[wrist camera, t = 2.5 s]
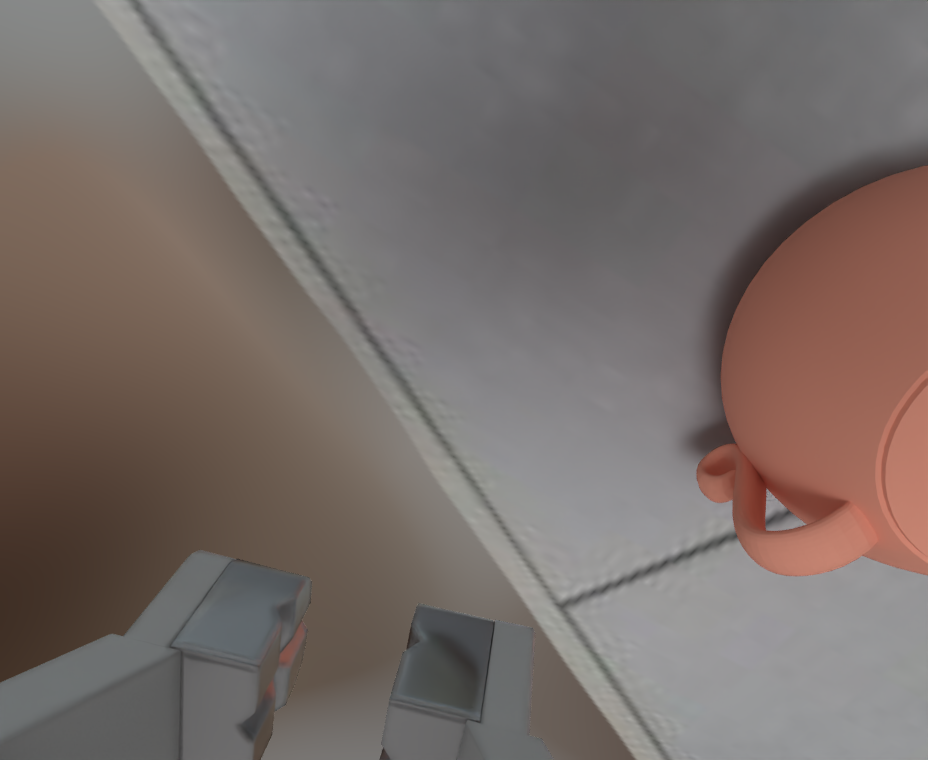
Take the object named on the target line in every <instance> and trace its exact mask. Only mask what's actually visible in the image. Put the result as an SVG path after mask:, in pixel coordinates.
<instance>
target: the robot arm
mask: <svg viewBox="0 0 928 760" xmlns="http://www.w3.org/2000/svg"><path fill="white" fill-rule="evenodd" d="M311 589H312V581H311V580H310V578H309V577H306V576H302V575H298V574H294V573H290V572H286V571H282V570H278V569H275V568H271V567H267V566H263V565H260V564H256V563H252V562H248V561H244V560H240V559H233V558H230V557H226V556H222V555H218V554H214V553H211V552H206V551H203V550H199V551H197V552H195V553H193V554H191V555H190V556H189V557H188V558H187V559H186V560H185V561H184V563H183V564H182V565H181V566H180V567H179V569H178V570H177V571H176V572H175V574H174V575H173V576H172V577H171V578H170V580H169V581H168V582H167V583H166V585H165V586H164V587H163V588H162V589H161V591H160V592H159V593H158V594H157V596H156V597H155V598H154V599H153V600H152V602H151V603H150V604H149V605H148V606H147V608H146V609H145V610H144V611H143V613H142V614H141V615H140V616H139V618H138V619H137V620H136V621H135V622H134V624H133V625H132V626H131V627H130V628H129V630H128V631H127V632H126V634H125V635H124V636H119V635H115V634H110V635H107V636H105V637H103V638H101V639H98V640H96V641H94V642H91V643H89V644H87V645H85V646H82V647H80V648H78V649H76V650H73V651H71V652H69V653H67V654H64V655H62V656H60V657H57V658H55V659H53V660H51V661H48V662H46V663H44V664H42V665H39V666H37V667H35V668H32V669H31V670H28V671H26V672H23V673H21V674H19V675H17V676H14V677H12V678H10V679H8V680H5V681H3V682H1V683H0V760H261V757H262V755H263V753H264V751H265V749H266V747H267V745H268V742H269V740H270V738H271V736H272V730H273V721H274V712H275V711H277V710H278V709H280V708H281V707H283V706H285V705H286V703H287V701H288V699H289V697H290V694H291V692H292V690H293V688H294V685H295V682H296V679H297V676H298V673H299V670H300V667H301V664H302V660H303V655H304V650H305V646H306V639H307V631H308V630H307V628H306V626H305V625H304V623H303V621H302V619H303V617H304V615H305V613H306V611H307V609H308V607H309V604H310V603H311ZM534 649H535V632H534V629H533V628H531V627H527V626H522V625H517V624H513V623H508V622H503V621H499V620H495V621H493V620H490V619H486V618H482V617H477V616H473V615H469V614H464V613H460V612H456V611H451V610H446V609H442V608H438V607H434V606H429V605H425V604H420V603H419V604H418V605H417V607H416V611H415V614H414V617H413V620H412V623H411V628H410V634H409V639H408V644H407V649H406V651H404V652H403V654H402V658H401V661H400V665H399V668H398V671H397V675H396V678H395V682H394V685H393V689H392V692H391V696H390V699H389V706H388V710H387V715H386V721H385V726H384V732H383V737H382V742H381V744H382V746H383V750H382V754H381V757H380V760H554V759H553V757H552V755H551V753H550V752H549V750H548V748H547V747H546V745H545V743H544V742H543V740H542V739H541V738H537V737H533V736H529V733H530V715H531V699H532V682H533V666H534Z"/></svg>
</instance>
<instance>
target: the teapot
mask: <svg viewBox="0 0 928 760" xmlns="http://www.w3.org/2000/svg"><path fill="white" fill-rule="evenodd" d="M721 390H722V400H723V405H724V410H725V414H726V419H727V422H728V424H729V427H730V430H731V432H732V435H733V437H734V440H735V442H736V443H737V444H725V445H722V446H720V447H717V448H716V449H714V450H712V451H711V452H710V453H708V454H707V455H706V456H705V457H704V458H703V459H702V460H701V461H700V463H699V464H698V468H697V481H698V484H699V488H700V490H701V491H702V493H703V494H704V495H705V496H706V497H707V498H709V499H710V500H711V501H713V502H717V503H723V502H728V501H730V500H733V521H734V527H735V530H736V534H737V536H738V539H739V541H740V543H741V545H742V547H743V548H744V549H745V551H746V552H747V554H748V555H749V556H750V557H751V558H752V559H753V560H754V561H755V562H756V563H757V564H759V565H760V566H761V567H763V568H765V569H767V570H768V571H771V572H773V573H776V574H781V575H786V576H808V575H815V574H820V573H824V572H829V571H832V570H835V569H837V568H840V567H843V566H845V565H847V564H849V563H851V562H853V561H854V560H856V559H858V558H859V557H861V556H865V557H867V558H870V559H873V560H875V561H878V562H881V563H884V564H887V565H890V566H893V567H896V568H900V569H904V570H908V571H912V572H916V573H919V574H924V575H928V165H927V166H921V167H918V168H914V169H911V170H907V171H904V172H900V173H897V174H893V175H890V176H888V177H885V178H883V179H880V180H878V181H876V182H873V183H871V184H868V185H866V186H863V187H861V188H859V189H857V190H856V191H854V192H852V193H850V194H848V195H846V196H845V197H843V198H841V199H839V200H837V201H835V202H834V203H832V204H831V205H829V206H828V207H826V208H825V209H823V210H822V211H821V212H819V213H818V214H816V215H815V216H813V217H812V218H811V219H809V220H808V221H806V222H805V223H804V224H803V225H802V226H801V227H799V228H798V229H797V230H796V231H795V232H794V233H793V234H792V235H790V236H789V237H788V238H787V239H786V240H785V241H784V242H783V243H782V244H781V245H780V246H779V247H778V248H777V249H776V250H775V252H774V253H773V254H772V255H771V256H770V257H769V258H768V259H767V260H766V262H765V263H764V264H763V265H762V267H761V268H760V270H759V271H758V273H757V274H756V275H755V277H754V278H753V280H752V281H751V283H750V284H749V285H748V287H747V289H746V291H745V293H744V295H743V297H742V299H741V300H740V302H739V304H738V306H737V308H736V311H735V313H734V316H733V319H732V321H731V324H730V326H729V329H728V332H727V337H726V341H725V345H724V350H723V355H722V366H721ZM766 488H767V489H768V490H769V491H770V492H771V493H772V494H773V495H774V496H775V497H776V498H777V499H778V500H779V501H780V502H781V503H782V504H783V505H784V506H785V507H786V508H787V509H789V510H790V511H791V512H792V513H793V514H794V515H796V516H797V517H798V518H799V519H801V520H802V521H803V522H804V523H806V524H807V525H805V526H801V527H798V528H794V529H789V530H782V531H766V528H765V510H766Z"/></svg>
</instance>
